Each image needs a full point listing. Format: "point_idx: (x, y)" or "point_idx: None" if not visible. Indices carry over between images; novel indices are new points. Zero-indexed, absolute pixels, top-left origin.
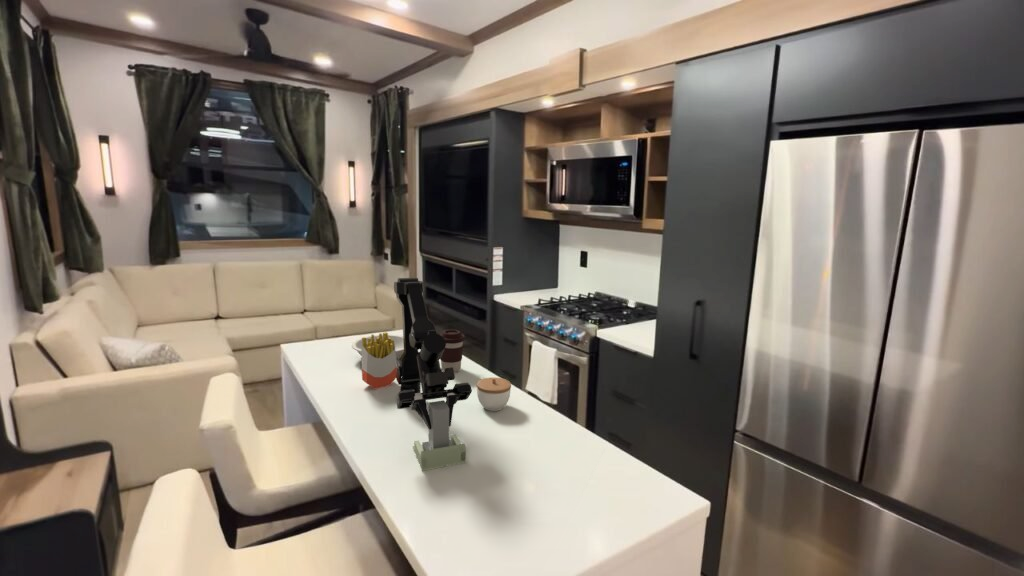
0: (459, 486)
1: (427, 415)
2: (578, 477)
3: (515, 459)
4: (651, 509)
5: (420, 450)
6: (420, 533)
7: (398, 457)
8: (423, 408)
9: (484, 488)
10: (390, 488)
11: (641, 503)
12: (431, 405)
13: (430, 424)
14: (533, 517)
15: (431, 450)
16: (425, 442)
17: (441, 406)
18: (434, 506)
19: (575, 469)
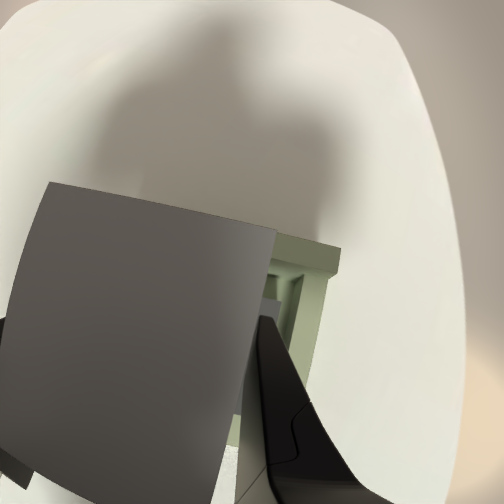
0: (243, 125)
1: (277, 391)
2: (23, 67)
3: (27, 165)
4: (49, 5)
5: (306, 336)
6: (391, 68)
7: (356, 409)
8: (317, 469)
9: (188, 90)
10: (432, 234)
11: (43, 13)
12: (207, 437)
13: (262, 329)
14: (176, 10)
15: (286, 250)
16: (240, 410)
17: (84, 299)
18: (344, 101)
19: (3, 88)
